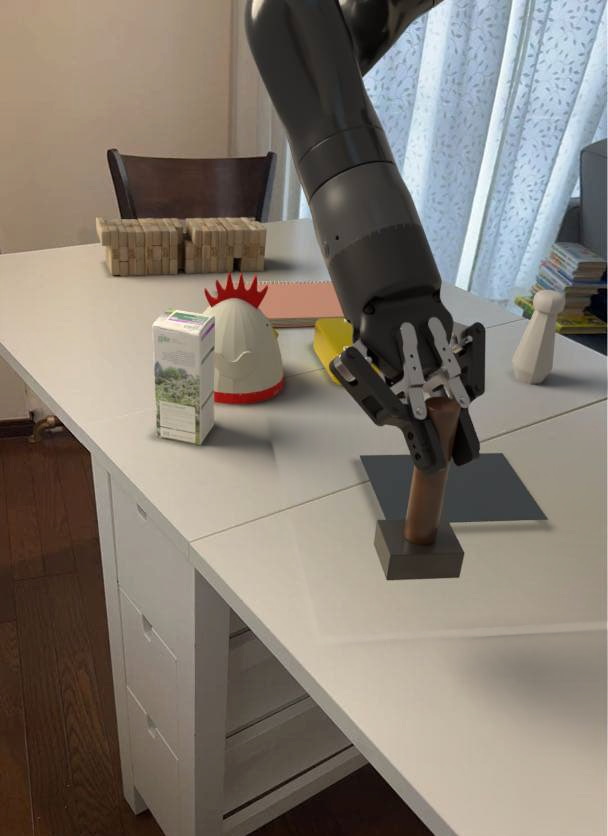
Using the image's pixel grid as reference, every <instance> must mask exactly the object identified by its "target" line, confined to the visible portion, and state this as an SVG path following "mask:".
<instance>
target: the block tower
mask: <svg viewBox="0 0 608 836" xmlns="http://www.w3.org/2000/svg"><path fill="white" fill-rule="evenodd" d="M95 225H96V234H97V236H98V238H99V242H100V244H101V246H102V247H105V263H106V265H107V267H108V270H109V272H110V275H111V276H120V277H128V276H130V277H131V276H152V275H154V276H157V275H169V274H170V275H177V274H178V270H182V269H183V271H184V272H185V274H200V273H202V274H209V273H226V272H227V273H229V272H230V273H231V272H232V273H233V271H234V265H235V267H237V269H238V271H239V272H263V271H264V270H265V256H266V255H265V254H266V245H267V233H268V230H267V228H266V227H265V226H264V225H262V223H261V222H260V221H251V220H250V219H249V218H248V217H210V218H209V217H207V218H205V217H203V218H201V217H194V218H190V217H189V218H188V217H187V218H186V219H185V232H184V226H183V223H181V221H180V219H179V218H177V217H176V218H175V217H171V218H168V217H167V218H165V217H164V218H153V217H146V218H137V219H135V218H133V219H132V218H131V219H129V218H127V219H125V218H123V219H122V218H121V219H105V218H104V217H96V218H95Z"/></svg>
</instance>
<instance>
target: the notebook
mask: <svg viewBox="0 0 608 836" xmlns="http://www.w3.org/2000/svg"><path fill="white" fill-rule="evenodd" d="M232 282H233V287H234V289H237V287H238V284H239V281H232ZM252 282H253V281H249V282H248V281H247V280H246V281H244V286H245V289H246V290H249V289H250V287H251V284H252ZM226 284H227V283H220V285H221V287H222V288H223V289H225V288H226ZM266 285H268V290H267V293H266V295H265V297H264V298H263V300H262V302H261V304H260V305H259V307H258V308H259V309H260V310H261V311H262V312H263V314H264V315H265V316H266V317H267V318H268V320H269V322H270V324H271V326H272V327H273V328H295V327H297V328H299V327H315V323H316V321H317V320H318V319H322V318H344V315H343V312H342V309H341V306H340V304H339V301H338V298H337V295H336V292H335V289H334V287H333V284H332V281H331V279H328V280H326V279H324V280H316V281H315V280H304V281H303V280H300V281H299V280H292V281H291V280H289V281H288V280H285V281H283V280H277V281H275V280H274V281H271V280H269V281H267V280H265V281H263V280H261V282H260V281H259V280H257V291H258V292H261V291H262V290H263V289H264V288H265V286H266Z"/></svg>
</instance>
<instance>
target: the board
mask: <svg viewBox="0 0 608 836" xmlns="http://www.w3.org/2000/svg"><path fill="white" fill-rule="evenodd" d="M479 453H480V452H479ZM359 459H360V461H361V463H362V466H363V468H364V471H365V473H366V476H367V478H368V481H369V483H370V485H371V489H372V490H373V493H374V495H375V497H376V500H377V502H378V505H379V507H380V509H381V512H382V514H383V517H384V520H392V519H406V515H407V509H408V503H409V497H410V490H411V484H412V478H413V471H414V463H413V460H412V456H411V454H362V455H361V454H359ZM440 518H447V519H448V521H449V523H450V524H454V523H455V524H457V523H481V522H483V523H485V522H513V521H514V522H515V521H543V520H548V516H546V514H545V513H544V512H543V510H542V508H541V507H540V506H539V504H538V503H537V501H536V499H535V498H534V496H533V495H532V494H531V492H530V491H529V489H528V488H527V487H526V485H525V484H524V482H523V481H522V479H521V478H520V477H519V475H518V473H517V472H516V471H515V469H514V467H513V466H512V465H511V463H510V462H509V460H508V459H507V458H506V456H505V454H504V453H503V452H484V453H483V452H481V453H480V456H479V458H478V459H477V460H475V461H473V462H470V463H468V464H465V465H462V466H457V465H456V464H455V463H454V461H453V458H452V456H451V462H450V467H449V472H448V478H447V483H446V488H445V494H444V499H443V504H442V510H441V515H440Z"/></svg>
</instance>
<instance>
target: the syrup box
mask: <svg viewBox="0 0 608 836" xmlns="http://www.w3.org/2000/svg"><path fill="white" fill-rule="evenodd" d="M151 327H152V328H151V333H152V335H151V336H152V354H153V355H152V356H153V377H154V378H153V380H154V381H153V382H154V404H155V405H154V406H155V407H154V408H155V431H156V433H155V434H156V438H158V439H162V440H168V441H173V442H174V441H175V442H179V443H185V444H190V445H195V446H201V445H202V444H203V442H204V440H205V438H206V437H207V436H208V434H209V433H210V431H212V428H213V427H214V426H215V402H214V363H215V317H214V316H211V315H205V314H203V313H199V312H192V311H187V310H180V309H173V308H168V309H167V310H166V311H164V312H163V313H162V314H161V315H160V316H159V317H158V318H157V319H156V320H155V321H154V323H153V324H152V325H151Z"/></svg>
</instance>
